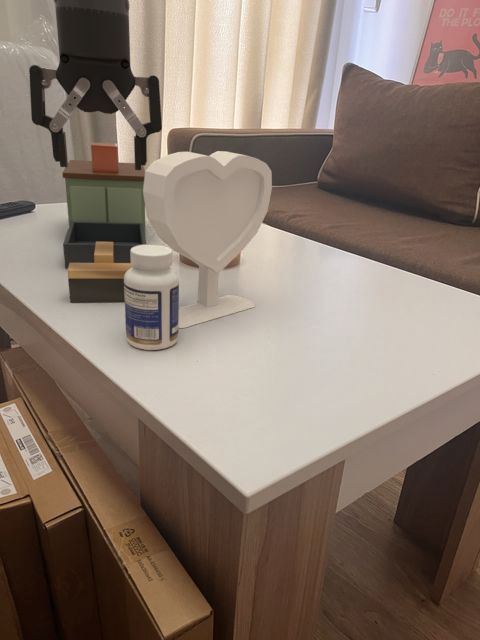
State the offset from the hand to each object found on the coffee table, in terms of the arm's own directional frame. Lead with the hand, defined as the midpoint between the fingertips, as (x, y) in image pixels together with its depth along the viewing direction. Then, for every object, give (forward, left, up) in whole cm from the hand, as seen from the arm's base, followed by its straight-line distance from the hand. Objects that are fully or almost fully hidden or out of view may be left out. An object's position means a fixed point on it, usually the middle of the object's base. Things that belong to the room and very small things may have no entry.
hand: (101, 167), depth 63 cm
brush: (0, -2, -15) cm, 15 cm away
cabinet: (0, +27, -15) cm, 30 cm away
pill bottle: (+5, -18, -15) cm, 24 cm away
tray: (0, +12, -15) cm, 19 cm away
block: (0, +24, -4) cm, 24 cm away
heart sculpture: (+12, -10, -15) cm, 22 cm away
